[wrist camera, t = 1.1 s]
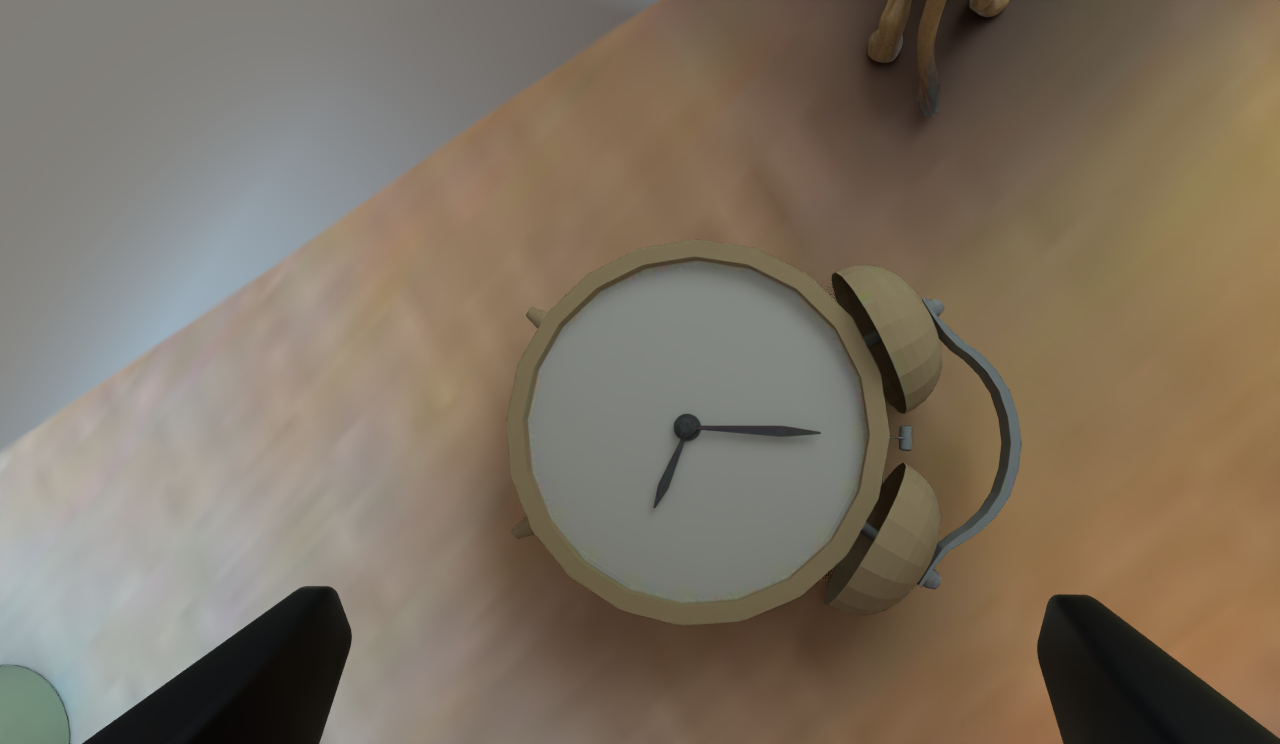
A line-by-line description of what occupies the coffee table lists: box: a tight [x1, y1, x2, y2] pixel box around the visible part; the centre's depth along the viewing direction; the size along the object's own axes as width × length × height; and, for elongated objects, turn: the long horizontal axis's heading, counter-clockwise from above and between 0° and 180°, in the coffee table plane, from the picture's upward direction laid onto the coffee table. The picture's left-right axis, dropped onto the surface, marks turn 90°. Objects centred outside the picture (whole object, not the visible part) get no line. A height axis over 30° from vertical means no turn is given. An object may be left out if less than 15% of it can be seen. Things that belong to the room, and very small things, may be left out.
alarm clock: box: [506, 239, 1022, 625], centre depth 22 cm, size 11×5×15 cm
